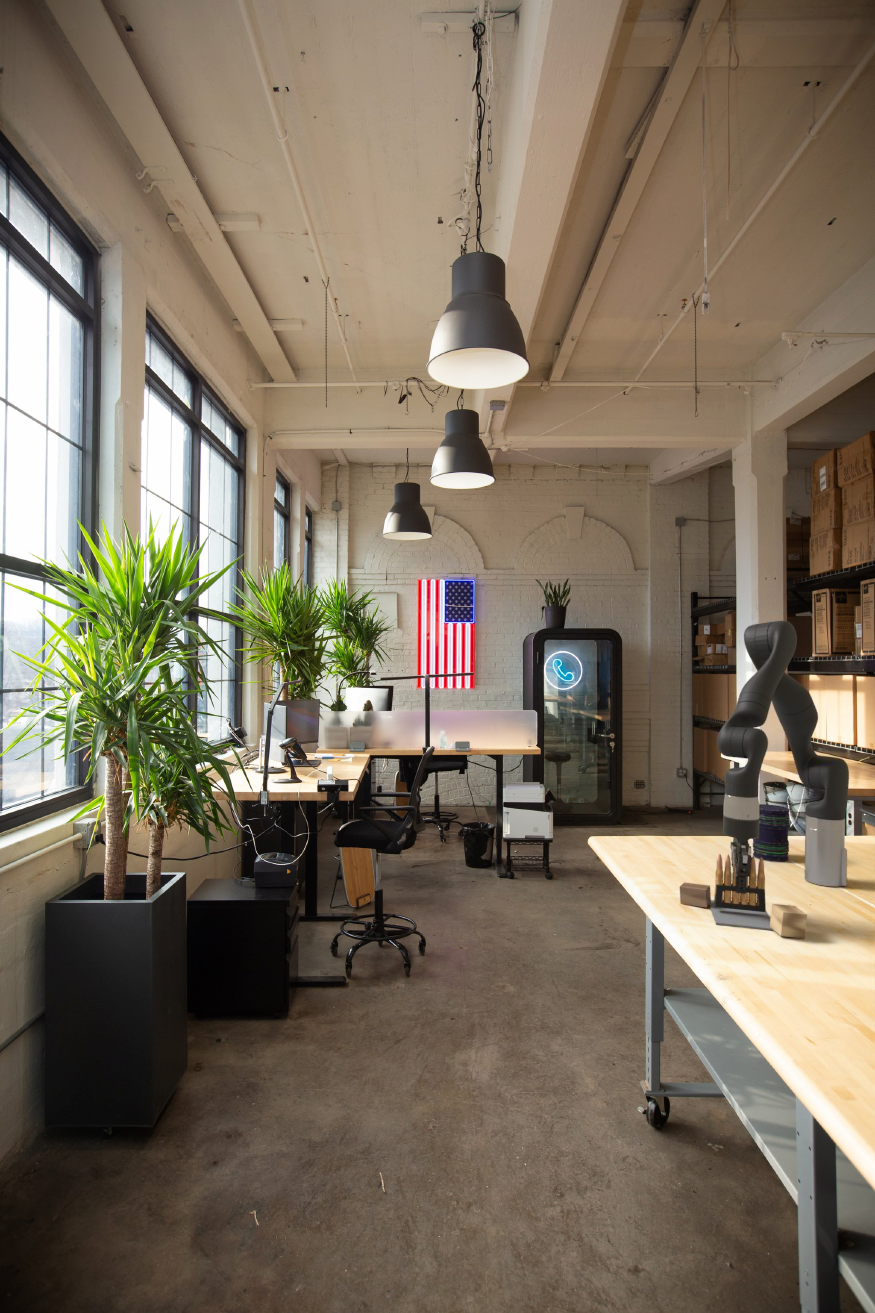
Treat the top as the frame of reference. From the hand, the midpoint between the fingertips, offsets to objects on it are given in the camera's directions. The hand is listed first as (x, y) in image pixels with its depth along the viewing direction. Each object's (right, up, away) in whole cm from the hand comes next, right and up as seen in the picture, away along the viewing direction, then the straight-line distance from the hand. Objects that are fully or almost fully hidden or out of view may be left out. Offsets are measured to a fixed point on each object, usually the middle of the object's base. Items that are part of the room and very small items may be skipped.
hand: (740, 891), depth 160 cm
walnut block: (-8, -5, +7) cm, 12 cm away
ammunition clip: (0, -4, 0) cm, 4 cm away
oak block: (+5, -5, -11) cm, 13 cm away
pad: (0, -5, 0) cm, 5 cm away
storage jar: (+31, -7, +51) cm, 60 cm away
